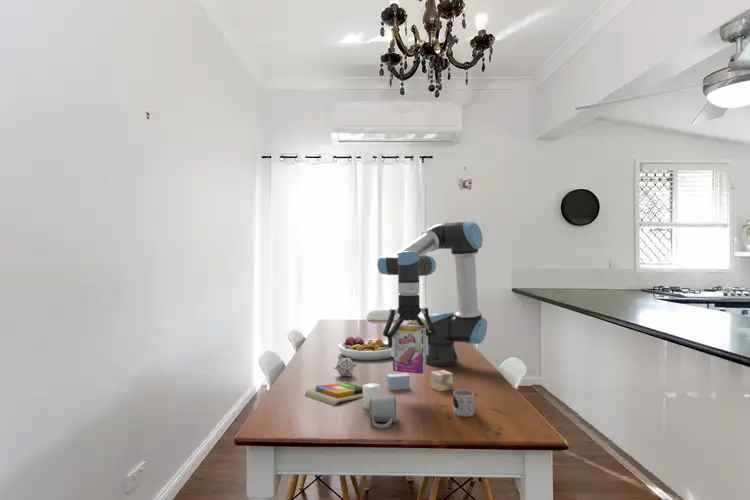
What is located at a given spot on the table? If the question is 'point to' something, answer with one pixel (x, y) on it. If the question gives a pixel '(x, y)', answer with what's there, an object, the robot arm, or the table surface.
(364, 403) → the white cylinder
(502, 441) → the table surface
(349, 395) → the wooden puzzle
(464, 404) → the mug
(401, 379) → the blue brick
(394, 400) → the ceramic mug
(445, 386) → the oak cube
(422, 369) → the candy bar box
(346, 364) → the game die
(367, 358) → the bowl
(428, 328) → the cantaloupe
